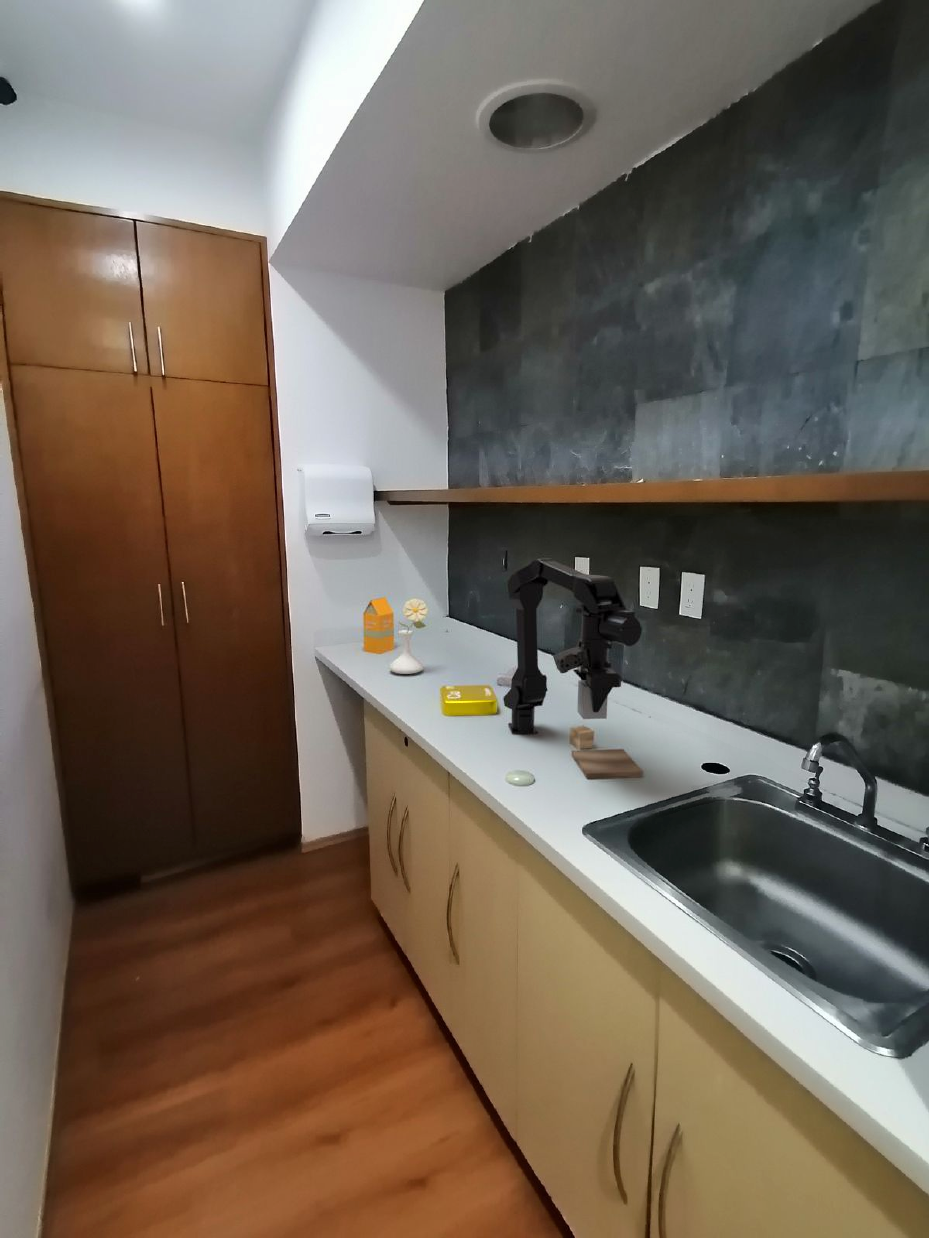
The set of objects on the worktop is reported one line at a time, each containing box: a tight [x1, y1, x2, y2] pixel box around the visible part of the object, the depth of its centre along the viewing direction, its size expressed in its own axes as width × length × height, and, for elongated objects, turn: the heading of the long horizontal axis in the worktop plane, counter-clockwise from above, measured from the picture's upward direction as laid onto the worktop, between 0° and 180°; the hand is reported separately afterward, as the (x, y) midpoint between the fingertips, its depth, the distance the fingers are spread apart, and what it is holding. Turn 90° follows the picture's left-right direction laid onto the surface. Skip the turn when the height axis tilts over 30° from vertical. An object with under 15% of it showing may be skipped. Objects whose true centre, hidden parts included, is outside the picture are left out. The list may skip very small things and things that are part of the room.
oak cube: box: [568, 725, 595, 750], centre depth 148 cm, size 4×4×4 cm
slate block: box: [576, 679, 609, 720], centre depth 133 cm, size 5×5×7 cm
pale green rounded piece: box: [504, 769, 535, 787], centre depth 130 cm, size 6×6×1 cm
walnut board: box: [571, 748, 644, 780], centre depth 136 cm, size 12×12×1 cm
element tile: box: [439, 684, 498, 717], centre depth 174 cm, size 15×15×5 cm
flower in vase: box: [388, 597, 429, 675], centre depth 206 cm, size 13×11×25 cm
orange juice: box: [362, 596, 395, 655], centre depth 236 cm, size 8×9×20 cm
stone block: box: [496, 666, 518, 689], centre depth 197 cm, size 12×5×10 cm
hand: (592, 707), depth 134 cm, fingers closed on slate block, 5 cm apart
